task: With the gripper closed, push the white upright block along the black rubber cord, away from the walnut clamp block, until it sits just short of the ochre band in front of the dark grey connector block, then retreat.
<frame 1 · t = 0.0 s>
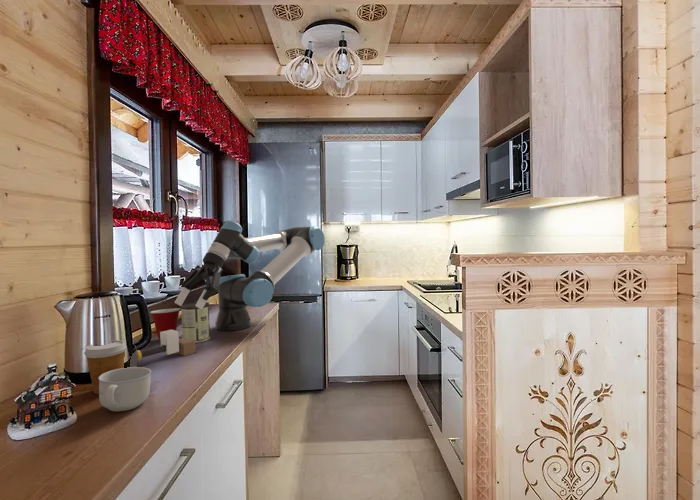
hand: (187, 306, 137), 15 cm above the countertop, tool tilted 35°, fingers open, 13 cm apart
white upright block: (169, 341, 128), point 5 cm above the countertop, slide at 0.0 cm
disposable coffee cup: (108, 390, 101), on the countertop
cord rail: (158, 359, 125), on the countertop
coffee can: (196, 340, 149), on the countertop
plastic cup: (166, 339, 150), on the countertop
teacup: (122, 409, 89), on the countertop
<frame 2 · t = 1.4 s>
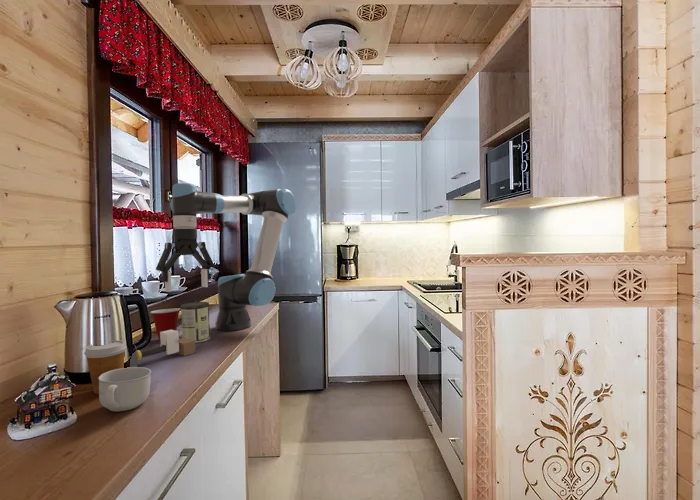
hand: (187, 289, 133), 22 cm above the countertop, tool pointing down, fingers open, 13 cm apart
nothing on the countertop moved.
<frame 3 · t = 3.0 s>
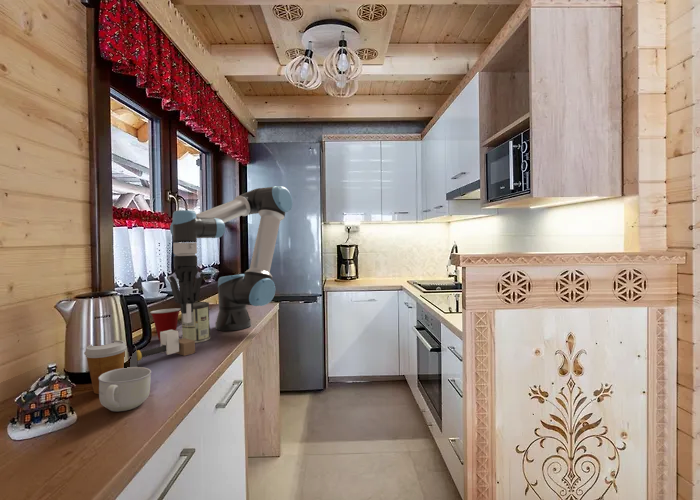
hand: (187, 322, 133), 10 cm above the countertop, tool pointing down, fingers closed
nothing on the countertop moved.
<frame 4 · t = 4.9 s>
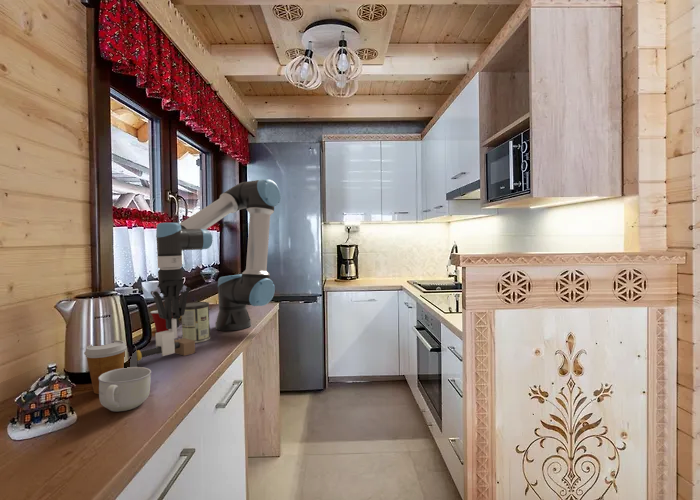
hand: (172, 337, 129), 6 cm above the countertop, tool pointing down, fingers closed
white upright block: (165, 343, 126), point 5 cm above the countertop, slide at 1.5 cm, touching gripper
everything else where it was.
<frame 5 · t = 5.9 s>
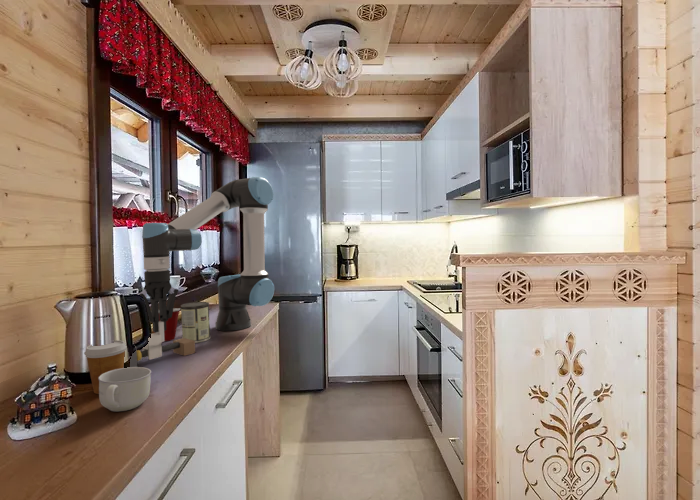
hand: (160, 341, 125), 6 cm above the countertop, tool pointing down, fingers closed
white upright block: (152, 346, 123), point 5 cm above the countertop, slide at 5.9 cm, touching gripper
everything else where it was.
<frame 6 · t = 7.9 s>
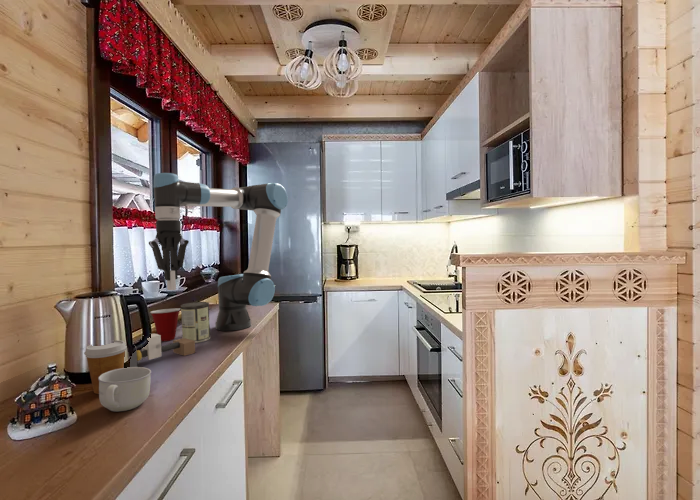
hand: (171, 289, 128), 22 cm above the countertop, tool pointing down, fingers closed
white upright block: (151, 346, 123), point 5 cm above the countertop, slide at 6.0 cm
everything else where it was.
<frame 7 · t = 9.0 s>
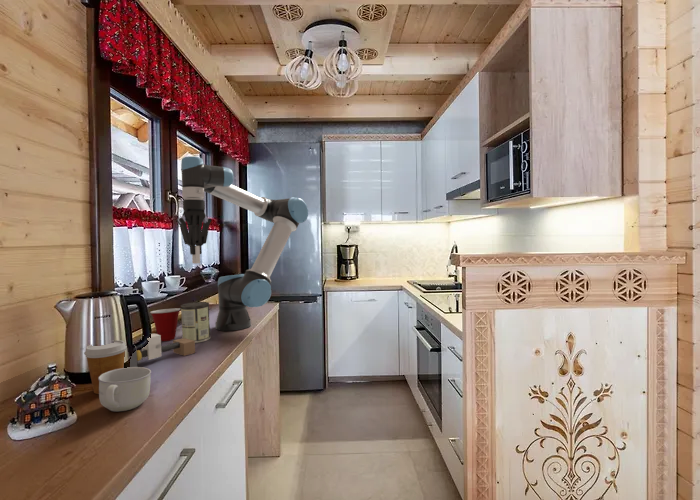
hand: (196, 263, 141), 30 cm above the countertop, tool pointing down, fingers closed
nothing on the countertop moved.
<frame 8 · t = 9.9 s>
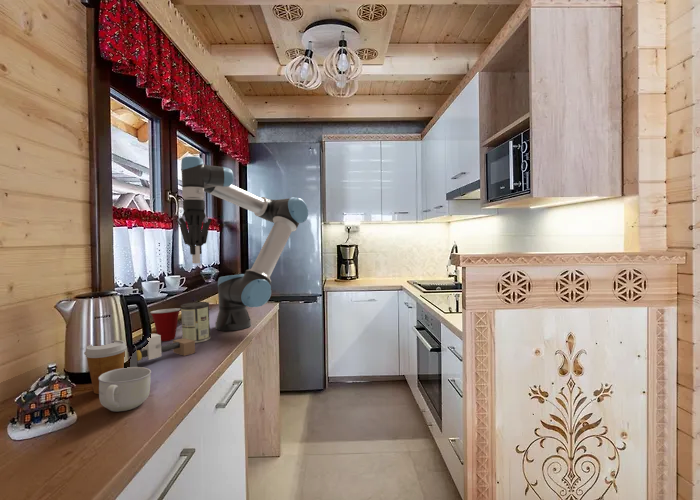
hand: (196, 263, 141), 30 cm above the countertop, tool pointing down, fingers closed
nothing on the countertop moved.
at the end: white upright block slide at 6.0 cm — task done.
